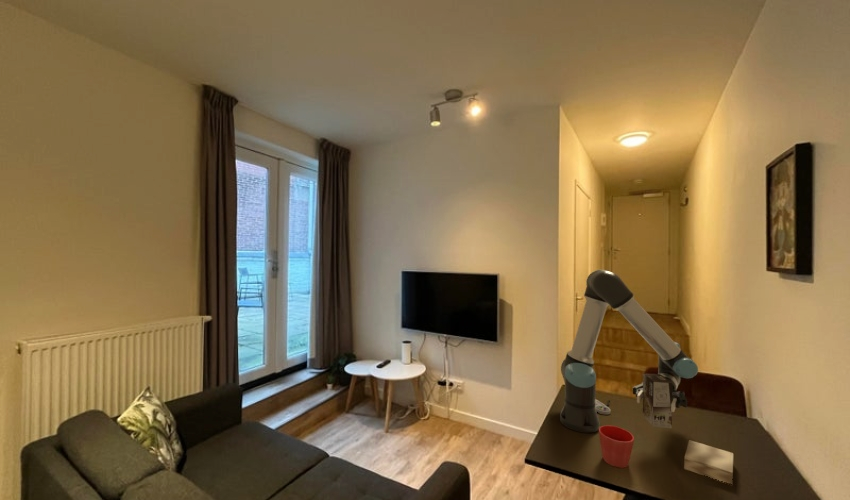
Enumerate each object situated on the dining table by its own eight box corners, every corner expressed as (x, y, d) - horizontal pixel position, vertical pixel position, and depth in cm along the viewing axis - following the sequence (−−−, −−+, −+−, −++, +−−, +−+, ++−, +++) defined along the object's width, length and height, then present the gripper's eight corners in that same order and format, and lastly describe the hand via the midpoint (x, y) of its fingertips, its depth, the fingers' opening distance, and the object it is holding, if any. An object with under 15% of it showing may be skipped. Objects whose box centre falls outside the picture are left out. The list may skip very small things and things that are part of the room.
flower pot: (631, 456, 123) (632, 428, 123) (635, 474, 113) (635, 444, 113) (597, 448, 128) (598, 422, 128) (598, 465, 118) (599, 436, 118)
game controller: (580, 400, 169) (580, 397, 169) (605, 399, 170) (605, 395, 170) (600, 415, 154) (600, 411, 154) (627, 414, 155) (627, 410, 155)
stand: (684, 468, 117) (684, 456, 117) (689, 450, 127) (689, 439, 127) (732, 485, 109) (732, 472, 108) (733, 465, 119) (733, 453, 119)
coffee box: (672, 428, 123) (673, 383, 123) (652, 426, 124) (653, 381, 124) (660, 416, 132) (661, 373, 132) (641, 414, 133) (642, 372, 133)
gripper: (699, 403, 134) (694, 424, 117) (633, 387, 149) (619, 404, 132) (700, 383, 134) (694, 402, 117) (633, 369, 149) (620, 384, 132)
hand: (654, 403), depth 125 cm, fingers closed on coffee box, 10 cm apart
